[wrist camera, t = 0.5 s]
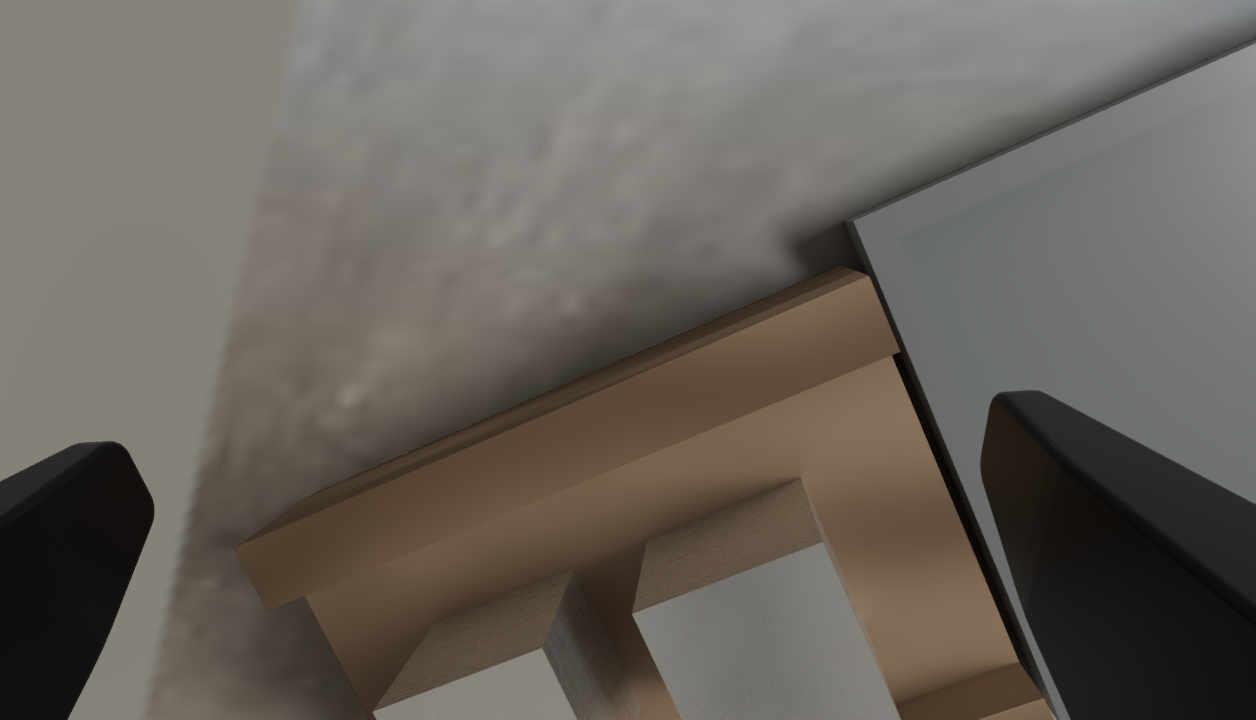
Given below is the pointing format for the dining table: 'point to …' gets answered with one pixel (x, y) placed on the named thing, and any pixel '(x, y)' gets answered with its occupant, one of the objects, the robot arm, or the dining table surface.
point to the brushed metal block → (516, 662)
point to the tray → (1087, 288)
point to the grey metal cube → (758, 617)
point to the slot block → (667, 505)
